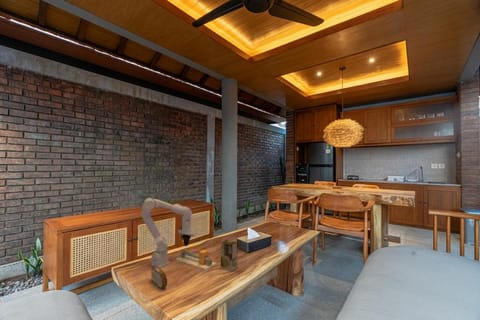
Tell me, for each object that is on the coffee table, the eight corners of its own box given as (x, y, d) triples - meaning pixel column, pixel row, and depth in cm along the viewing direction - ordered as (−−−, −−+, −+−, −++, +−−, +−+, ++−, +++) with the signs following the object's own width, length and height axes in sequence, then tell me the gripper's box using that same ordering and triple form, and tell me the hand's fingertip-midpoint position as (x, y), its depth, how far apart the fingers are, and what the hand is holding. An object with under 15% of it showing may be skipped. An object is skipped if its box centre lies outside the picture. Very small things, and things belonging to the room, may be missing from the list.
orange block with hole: (208, 261, 145) (208, 250, 145) (203, 264, 141) (203, 253, 141) (203, 260, 147) (203, 249, 147) (198, 262, 143) (198, 251, 143)
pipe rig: (216, 264, 145) (216, 256, 145) (206, 270, 136) (206, 261, 136) (186, 255, 159) (186, 247, 159) (175, 260, 150) (176, 252, 151)
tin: (167, 289, 115) (167, 273, 115) (161, 291, 113) (162, 275, 113) (155, 278, 126) (156, 263, 126) (150, 280, 124) (150, 265, 124)
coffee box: (237, 267, 141) (238, 242, 141) (232, 271, 135) (232, 245, 136) (225, 264, 146) (226, 239, 146) (220, 267, 140) (220, 242, 141)
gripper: (198, 225, 151) (198, 245, 151) (183, 222, 159) (183, 241, 158) (191, 228, 145) (190, 249, 145) (175, 224, 153) (175, 244, 152)
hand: (186, 245), depth 151 cm, fingers closed
